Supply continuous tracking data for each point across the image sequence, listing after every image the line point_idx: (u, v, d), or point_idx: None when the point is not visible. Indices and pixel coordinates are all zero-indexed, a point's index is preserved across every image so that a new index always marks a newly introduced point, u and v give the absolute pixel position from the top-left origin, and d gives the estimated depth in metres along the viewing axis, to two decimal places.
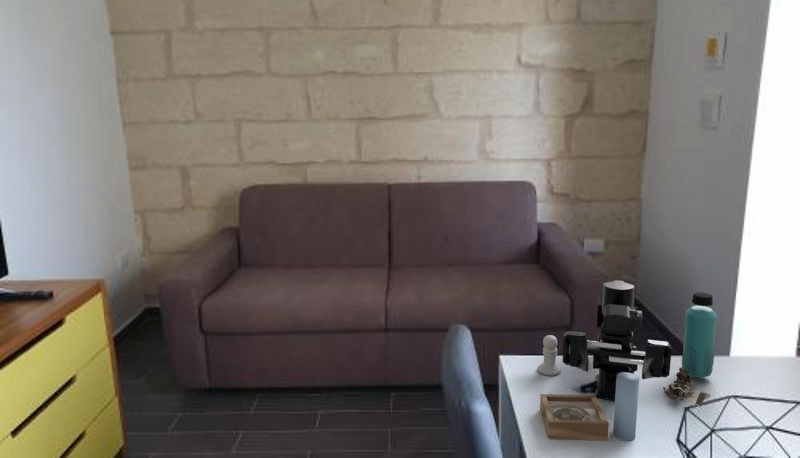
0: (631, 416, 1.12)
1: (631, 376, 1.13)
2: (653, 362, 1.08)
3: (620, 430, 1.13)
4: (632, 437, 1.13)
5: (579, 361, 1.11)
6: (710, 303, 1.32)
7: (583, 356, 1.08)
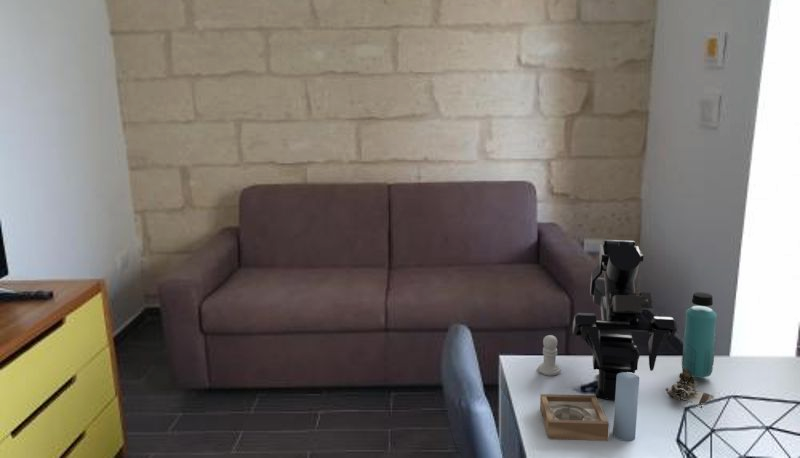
0: (631, 416, 1.12)
1: (631, 376, 1.13)
2: None
3: (620, 430, 1.13)
4: (632, 437, 1.13)
5: (590, 341, 1.19)
6: (710, 303, 1.32)
7: (596, 350, 1.16)
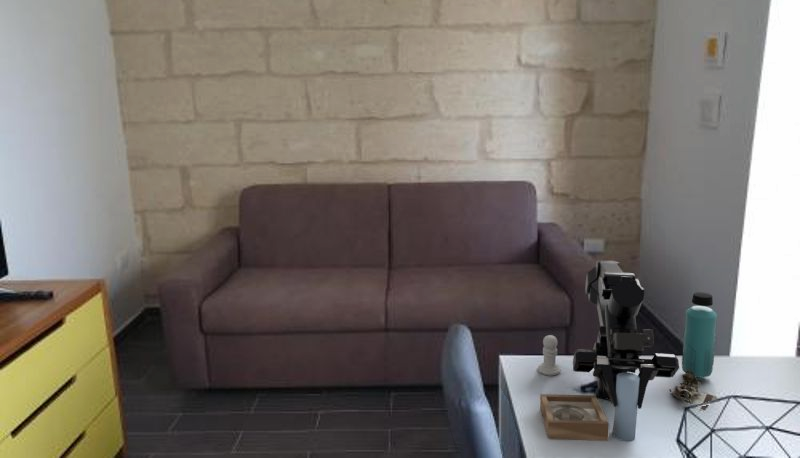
0: (631, 416, 1.12)
1: (631, 376, 1.13)
2: None
3: (620, 430, 1.13)
4: (632, 437, 1.13)
5: (603, 379, 1.17)
6: (710, 303, 1.32)
7: (610, 389, 1.13)
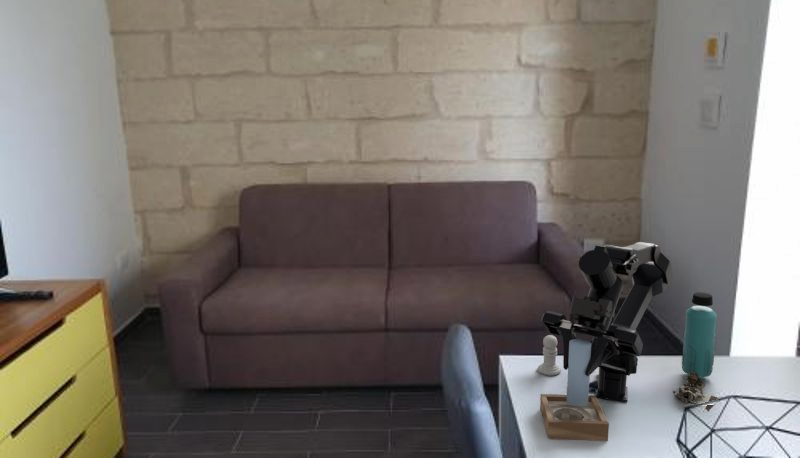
0: (578, 382, 1.13)
1: (584, 343, 1.13)
2: (607, 347, 1.13)
3: (568, 394, 1.15)
4: (580, 403, 1.14)
5: None
6: (710, 303, 1.32)
7: (564, 352, 1.16)
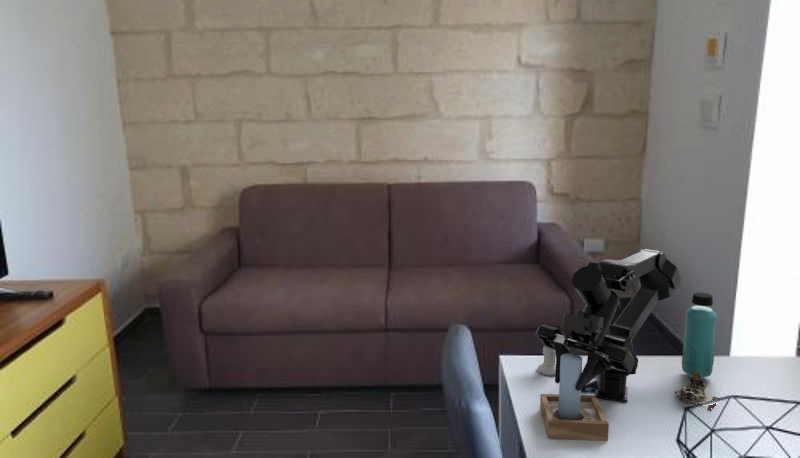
0: (568, 396, 1.15)
1: (575, 358, 1.15)
2: (599, 362, 1.15)
3: (560, 407, 1.17)
4: (570, 417, 1.16)
5: None
6: (710, 303, 1.32)
7: (556, 366, 1.18)
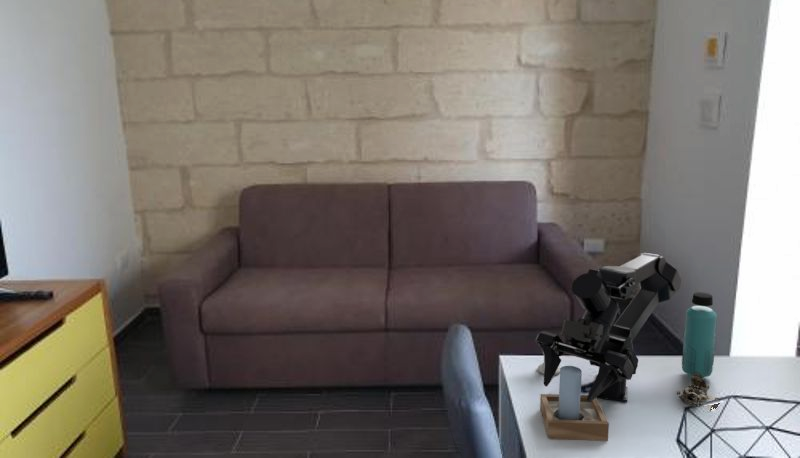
0: (567, 408, 1.15)
1: (574, 370, 1.15)
2: (610, 373, 1.13)
3: (559, 419, 1.17)
4: None
5: None
6: (710, 303, 1.32)
7: (545, 369, 1.19)
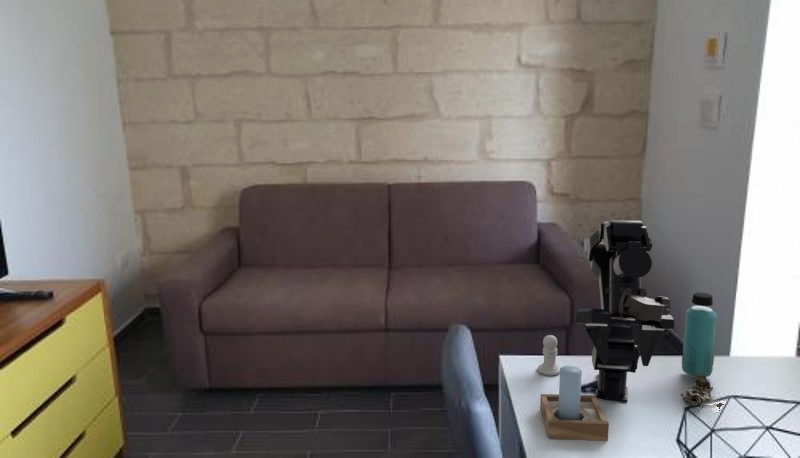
0: (567, 408, 1.15)
1: (574, 370, 1.15)
2: None
3: (559, 419, 1.17)
4: None
5: (594, 334, 1.15)
6: (710, 303, 1.32)
7: (604, 348, 1.13)
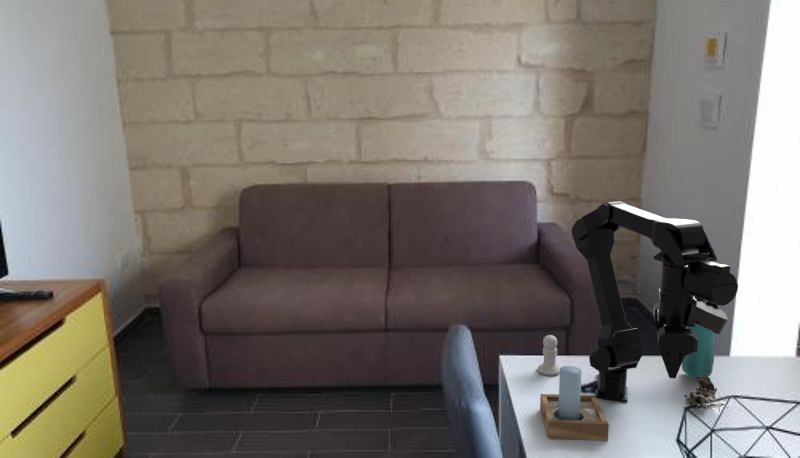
0: (567, 408, 1.15)
1: (574, 370, 1.15)
2: None
3: (559, 419, 1.17)
4: None
5: (668, 352, 1.07)
6: None
7: (680, 365, 1.08)
